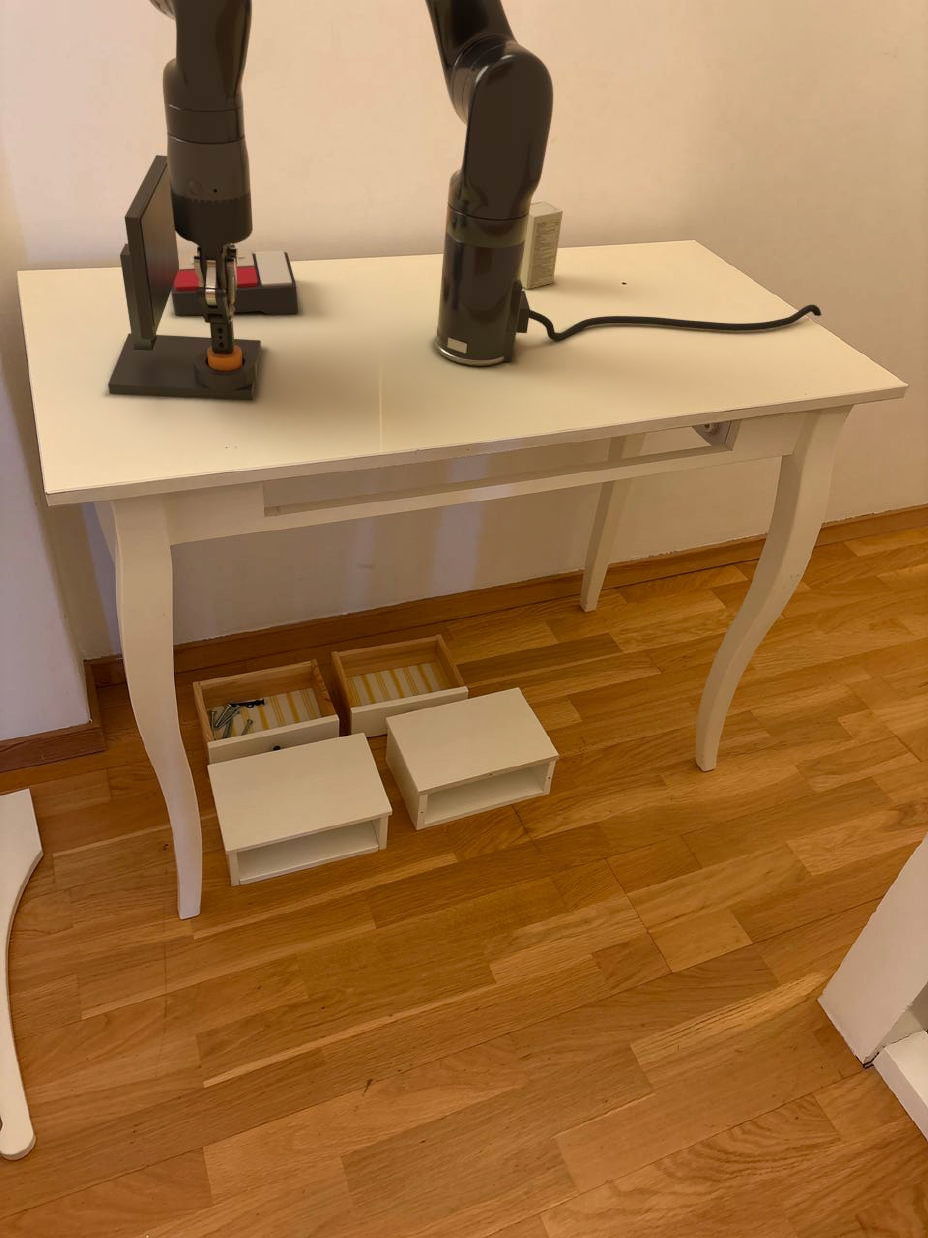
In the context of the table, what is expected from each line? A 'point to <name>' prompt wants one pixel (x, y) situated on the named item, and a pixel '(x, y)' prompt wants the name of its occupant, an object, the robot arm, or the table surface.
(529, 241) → the cream printed box
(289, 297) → the calculator
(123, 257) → the monitor stand
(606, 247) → the table surface
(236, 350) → the power button
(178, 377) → the monitor base
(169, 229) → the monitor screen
